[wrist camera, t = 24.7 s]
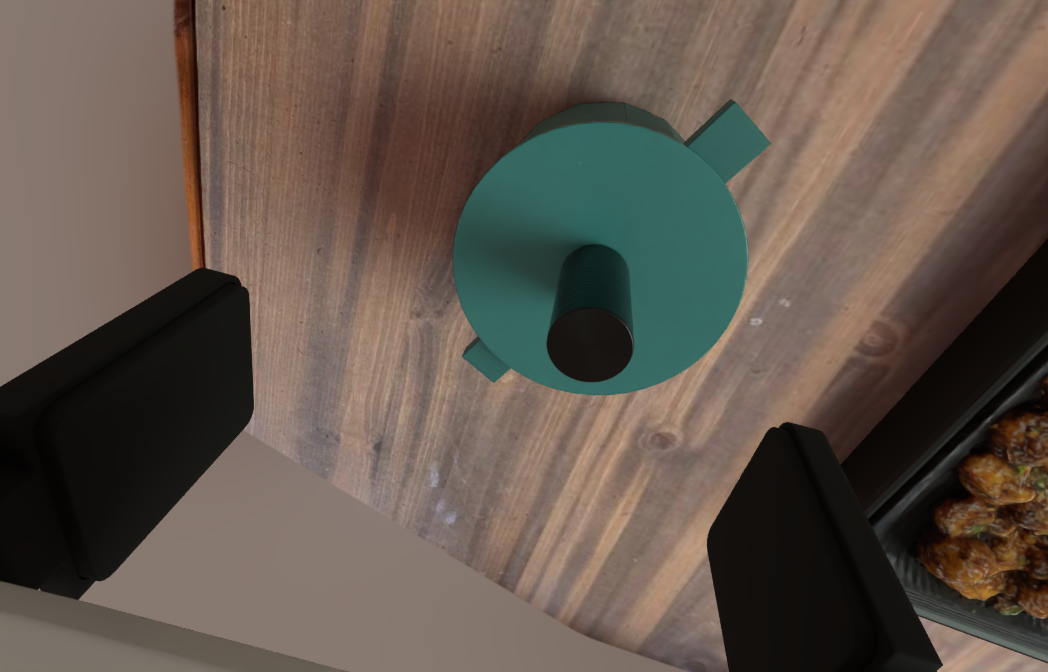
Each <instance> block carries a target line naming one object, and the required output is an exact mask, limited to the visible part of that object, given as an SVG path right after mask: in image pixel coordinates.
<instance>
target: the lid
mask: <svg viewBox="0 0 1048 672" xmlns="http://www.w3.org/2000/svg"><path fill="white" fill-rule="evenodd" d="M747 269H748V244H747V237H746V232H745V227H744V222H743V220H742V217H741V214H740V212H739V209H738V206H737V204H736V202H735V200H734V198H733V196H732V195H731V193H730V191H729V189H728V188H727V186H726V184H725V183H724V182H723V181H722V179H721V178H720V177H719V175H718V174H717V173H716V172H715V170H714V169H713V168H712V167H711V166H710V165H709V164H708V163H707V162H706V161H705V160H704V159H703V158H702V157H701V156H700V155H699V154H697V153H696V152H695V151H693V150H692V149H690V148H689V147H687V146H686V145H685V144H683V143H682V142H680V141H678V140H676V139H674V138H672V137H670V136H668V135H666V134H664V133H662V132H660V131H657V130H654V129H651V128H648V127H645V126H642V125H637V124H632V123H626V122H621V121H603V120H596V121H585V122H576V123H571V124H567V125H563V126H559V127H555V128H552V129H550V130H547V131H544V132H542V133H539V134H537V135H535V136H533V137H531V138H529V139H527V140H526V141H524V142H522V143H520V144H518V145H517V146H516V147H514V148H513V149H511V150H510V151H509V152H507V153H506V154H505V155H503V156H502V157H501V158H500V159H499V160H498V161H497V162H496V163H495V164H494V165H493V166H492V167H491V168H490V169H489V170H488V171H487V172H486V173H485V175H484V176H483V177H482V179H481V180H480V181H479V182H478V184H477V185H476V186H475V188H474V189H473V191H472V193H471V195H470V196H469V198H468V200H467V202H466V204H465V206H464V208H463V211H462V213H461V216H460V219H459V221H458V225H457V229H456V234H455V238H454V247H453V275H454V280H455V286H456V291H457V294H458V297H459V300H460V303H461V306H462V309H463V311H464V313H465V315H466V317H467V319H468V321H469V323H470V324H471V326H472V328H473V329H474V331H475V332H476V334H477V335H478V337H479V338H480V339H481V340H482V342H483V343H484V344H485V345H486V346H487V348H488V349H489V350H490V351H491V352H492V353H494V354H495V355H496V356H497V357H498V358H499V359H500V360H501V361H502V362H504V363H505V364H506V365H508V366H509V367H510V368H512V369H513V370H515V371H516V372H518V373H520V374H521V375H523V376H525V377H527V378H528V379H531V380H533V381H535V382H537V383H540V384H542V385H545V386H548V387H551V388H554V389H557V390H561V391H566V392H570V393H575V394H585V395H614V394H622V393H629V392H633V391H637V390H642V389H645V388H648V387H651V386H654V385H657V384H659V383H662V382H664V381H666V380H668V379H670V378H672V377H674V376H676V375H678V374H679V373H681V372H682V371H684V370H686V369H687V368H689V367H690V366H691V365H693V364H694V363H695V362H696V361H698V360H699V359H700V358H701V357H703V356H704V355H705V354H706V353H707V352H708V351H709V350H710V349H711V348H712V347H713V346H714V345H715V344H716V342H717V341H718V340H719V338H720V337H721V336H722V334H723V333H724V332H725V330H726V329H727V327H728V326H729V324H730V322H731V320H732V318H733V317H734V315H735V313H736V311H737V308H738V306H739V303H740V301H741V298H742V295H743V291H744V287H745V283H746V279H747Z"/></svg>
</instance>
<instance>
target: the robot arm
mask: <svg viewBox="0 0 1048 672" xmlns="http://www.w3.org/2000/svg"><path fill="white" fill-rule="evenodd" d="M253 410H254V395H253V372H252V349H251V326H250V302H249V292H248V290H247V289H246V288H245V287H242V286H241V282H240V280H239V279H238V278H237V277H236V276H233V275H229V274H226V273H222V272H218V271H214V270H210V269H207V268H199V269H197V270H195V271H193V272H191V273H190V274H188V275H187V276H185V277H183V278H181V279H180V280H178V281H176V282H175V283H173V284H171V285H170V286H168V287H166V288H165V289H163V290H161V291H160V292H158V293H156V294H155V295H153V296H151V297H150V298H148V299H147V300H145V301H143V302H141V303H140V304H138V305H136V306H135V307H133V308H131V309H130V310H128V311H126V312H125V313H123V314H121V315H120V316H118V317H116V318H115V319H113V320H111V321H109V322H108V323H106V324H104V325H103V326H101V327H99V328H98V329H96V330H94V331H93V332H91V333H89V334H88V335H86V336H84V337H83V338H81V339H79V340H78V341H76V342H74V343H73V344H71V345H69V346H68V347H66V348H65V349H63V350H61V351H59V352H58V353H56V354H54V355H53V356H51V357H49V358H48V359H46V360H44V361H43V362H41V363H39V364H38V365H36V366H34V367H33V368H31V369H29V370H28V371H26V372H24V373H23V374H21V375H19V376H18V377H16V378H14V379H12V380H11V381H9V382H8V383H6V384H4V385H3V386H1V387H0V672H347V671H344V670H340V669H336V668H332V667H329V666H325V665H321V664H317V663H314V662H310V661H306V660H303V659H299V658H295V657H292V656H288V655H284V654H281V653H277V652H273V651H269V650H265V649H262V648H258V647H254V646H250V645H247V644H243V643H239V642H235V641H231V640H228V639H224V638H220V637H216V636H212V635H209V634H205V633H201V632H197V631H194V630H190V629H186V628H182V627H178V626H175V625H171V624H167V623H163V622H159V621H155V620H152V619H148V618H144V617H141V616H137V615H133V614H129V613H125V612H122V611H118V610H114V609H110V608H107V607H103V606H99V605H95V604H91V603H87V602H84V601H79V598H80V597H81V596H82V595H83V594H84V593H85V592H86V591H87V590H88V589H89V588H90V587H91V585H92V584H93V583H94V582H95V581H103V580H105V579H106V578H108V577H110V576H111V575H112V574H113V573H114V572H115V571H116V570H117V569H118V568H119V566H120V565H121V564H122V563H123V562H124V561H125V560H126V559H127V557H129V555H130V554H131V553H132V552H133V551H134V550H135V549H136V548H137V547H138V546H139V544H140V543H141V542H142V541H143V540H144V539H145V538H146V537H147V535H148V534H149V533H150V532H151V531H152V530H153V529H154V528H155V527H156V525H157V524H158V523H159V522H160V521H161V520H162V519H163V518H164V517H165V516H166V515H167V513H168V512H169V511H170V510H171V509H172V508H173V507H174V506H175V505H176V503H177V502H178V501H179V500H180V499H181V498H182V497H183V496H184V495H185V493H186V492H187V491H188V490H189V489H190V488H191V487H192V486H193V485H194V483H195V482H196V481H197V480H198V479H199V478H200V477H201V476H202V475H203V474H204V472H205V471H206V470H207V469H208V468H209V467H210V466H211V465H212V464H213V462H214V461H215V460H216V459H217V458H218V457H219V456H220V455H221V454H222V452H223V451H224V450H225V449H226V448H227V447H228V446H229V445H230V444H231V442H232V441H233V440H234V439H235V438H236V437H237V436H238V435H239V434H240V432H241V431H242V430H243V429H244V428H245V427H246V426H247V424H248V423H249V421H250V419H251V417H252V414H253ZM707 551H708V557H709V562H710V568H711V573H712V579H713V584H714V590H715V596H716V601H717V607H718V612H719V618H720V623H721V629H722V635H723V640H724V646H725V651H726V657H727V662H728V668H729V672H937V670H938V669H939V668H940V667H942V666H943V664H942V662H941V660H940V658H939V656H938V654H937V653H936V651H935V649H934V647H933V645H932V643H931V641H930V639H929V637H928V635H927V633H926V631H925V629H924V627H923V625H922V623H921V621H920V619H919V617H918V616H917V614H916V612H915V610H914V608H913V606H912V604H911V602H910V600H909V598H908V596H907V594H906V592H905V590H904V588H903V586H902V584H901V582H900V580H899V578H898V577H897V575H896V573H895V571H894V569H893V567H892V565H891V563H890V561H889V559H888V557H887V555H886V553H885V551H884V549H883V547H882V545H881V543H880V541H879V540H878V538H877V536H876V534H875V532H874V530H873V528H872V526H871V524H870V522H869V520H868V518H867V516H866V514H865V512H864V510H863V508H862V506H861V504H860V503H859V501H858V499H857V497H856V495H855V493H854V491H853V489H852V487H851V485H850V483H849V481H848V479H847V477H846V475H845V473H844V471H843V469H842V467H841V466H840V464H839V462H838V460H837V458H836V456H835V454H834V452H833V450H832V448H831V446H830V444H829V442H828V440H827V438H826V436H825V435H824V434H823V432H821V431H819V430H816V429H812V428H809V427H805V426H801V425H797V424H794V423H790V422H786V423H783V424H782V425H780V427H779V428H776V427H772V428H770V429H769V430H768V431H767V433H766V434H765V436H764V438H763V439H762V441H761V443H760V445H759V446H758V448H757V450H756V451H755V453H754V455H753V456H752V458H751V460H750V462H749V463H748V465H747V467H746V468H745V470H744V472H743V473H742V475H741V477H740V479H739V480H738V482H737V484H736V485H735V487H734V489H733V490H732V492H731V494H730V496H729V497H728V499H727V501H726V502H725V504H724V506H723V507H722V509H721V511H720V512H719V514H718V516H717V518H716V519H715V521H714V523H713V524H712V526H711V528H710V530H709V533H708V538H707ZM39 588H40V590H41V591H38V589H39Z"/></svg>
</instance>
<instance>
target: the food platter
mask: <svg viewBox="0 0 1048 672" xmlns="http://www.w3.org/2000/svg"><path fill="white" fill-rule="evenodd" d="M840 466H841V467H842V469H843V471H844V473H845V475H846V477H847V479H848V481H849V483H850V485H851V487H852V489H853V491H854V493H855V495H856V497H857V499H858V501H859V503H860V504H861V506H862V508H863V510H864V512H865V514H866V516H867V518H868V520H869V522H870V524H871V526H872V528H873V530H874V532H875V534H876V536H877V538H878V540H879V541H880V543H881V545H882V547H883V549H884V551H885V553H886V555H887V557H888V559H889V561H890V563H891V565H892V567H893V569H894V571H895V573H896V575H897V577H898V578H899V580H900V582H901V584H902V586H903V588H904V590H905V592H906V594H907V596H908V598H909V600H910V602H911V604H912V606H913V608H914V610H915V612H916V614H917V616H920V617H922V618H925V619H928V620H930V621H933V622H936V623H939V624H941V625H944V626H947V627H950V628H952V629H955V630H958V631H961V632H963V633H966V634H969V635H971V636H974V637H977V638H980V639H982V640H985V641H988V642H991V643H993V644H996V645H999V646H1002V647H1004V648H1007V649H1010V650H1013V651H1015V652H1018V653H1021V654H1023V655H1026V656H1029V657H1032V658H1034V659H1037V660H1040V661H1043V662H1045V663H1048V240H1047V241H1046V242H1045V243H1044V244H1043V245H1042V246H1041V247H1040V248H1039V250H1038V251H1037V252H1036V253H1035V254H1034V255H1033V256H1032V257H1031V258H1030V259H1029V260H1028V262H1027V263H1026V264H1025V265H1024V266H1023V267H1022V268H1021V269H1020V270H1019V271H1018V272H1017V273H1016V275H1015V276H1014V277H1013V278H1012V279H1011V280H1010V281H1009V282H1008V283H1007V284H1006V285H1005V287H1004V288H1003V289H1002V290H1001V291H1000V292H999V293H998V294H997V295H996V296H995V297H994V299H993V300H992V301H991V302H990V303H989V304H988V305H987V306H986V307H985V308H984V309H983V311H982V312H981V313H980V314H979V315H978V316H977V317H976V318H975V319H974V320H973V321H972V323H971V324H970V325H969V326H968V327H967V328H966V329H965V330H964V331H963V332H962V333H961V335H960V336H959V337H958V338H957V339H956V340H955V341H954V342H953V343H952V344H951V345H950V347H949V348H948V349H947V350H946V351H945V352H944V353H943V354H942V355H941V356H940V357H939V359H938V360H937V361H936V362H935V363H934V364H933V365H932V366H931V367H930V368H929V369H928V371H927V372H926V373H925V374H924V375H923V376H922V377H921V378H920V379H919V380H918V381H917V383H916V384H915V385H914V386H913V387H912V388H911V389H910V390H909V391H908V392H907V393H906V394H905V396H904V397H903V398H902V399H901V400H900V401H899V402H898V403H897V404H896V405H895V406H894V408H893V409H892V410H891V411H890V412H889V413H888V414H887V415H886V416H885V417H884V418H883V420H882V421H881V422H880V423H879V424H878V425H877V426H876V427H875V428H874V429H873V430H872V432H871V433H870V434H869V435H868V436H867V437H866V438H865V439H864V440H863V441H862V442H861V444H860V445H859V446H858V447H857V448H856V449H855V450H854V451H853V452H852V453H851V454H850V456H849V457H848V458H847V459H846V460H845V461H844V462H843V463H842V464H841V465H840Z"/></svg>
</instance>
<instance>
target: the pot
mask: <svg viewBox="0 0 1048 672" xmlns="http://www.w3.org/2000/svg"><path fill="white" fill-rule="evenodd" d="M596 120H603V121H621V122H626V123H632V124H637V125H642V126H645V127H648V128H651V129H654V130H657V131H660V132H662V133H664V134H666V135H668V136H670V137H672V138H674V139H676V140H678V141H680V142H682V143H683V144H685V145H686V146H687V147H689V148H690V149H692V150H693V151H695V152H696V153H697V154H699V155H700V156H701V157H702V158H703V159H704V160H705V161H706V162H707V163H708V164H709V165H710V166H711V167H712V168H713V169H714V170H715V172H716V173H717V174H718V175H719V177H720V178H721V179H722V181H723V182H724V183H727V182H728V181H729V180H730V179H731V178H732V177H734V176H735V175H736V174H737V173H738V172H739V171H741V170H742V169H743V168H744V167H745V166H746V165H747V164H749V163H750V162H751V161H752V160H753V159H754V158H756V157H757V156H758V155H759V154H760V153H761V152H763V151H764V150H765V149H766V148H767V147H768V146H770V144H771V143H770V141H769V140H768V139H767V138H766V137H765V136H764V134H763V133H762V132H761V131H760V130H759V129H758V127H757V126H756V125H755V124H754V123H753V122H752V120H751V119H750V118H749V117H748V116H747V115H746V113H745V112H744V111H743V110H742V109H741V108H740V106H739V105H738V104H737V103H736V102H735V101H733V100H729V101H728V102H727V103H726V104H725V105H724V106H723V107H722V108H721V109H720V110H719V111H717V112H716V113H715V114H714V115H713V116H712V117H711V118H710V119H709V120H708V121H707V122H706V123H705V124H704V125H703V126H701V127H700V128H699V129H698V130H697V131H696V132H695V133H694V134H693V135H692V136H691V137H690V138H689V139H688V140H687V141H684V140H683V139H682V137H681V136H680V135H679V134H678V133H677V132H676V131H675V130H674V129H673V128H672V127H671V126H670V124H669V123H668V122H667V121H665V120H664V119H662V118H659V117H657V116H655V115H653V114H651V113H649V112H647V111H645V110H642V109H639V108H636V107H633V106H631V105H628V104H626V103H606V102H600V103H589V104H578V105H576V106H574V107H572V108H569V109H567V110H564V111H562V112H559V113H557V114H555V115H554V116H552V117H550V118H548V119H546V120H544V121H542V122H540V123H539V124H537V125H536V126H535V127H534V129H533V130H532V131H531V132H530V133H529V134H528V135H527V136H526V137H525V138H524V140H523V141H522V142H524V141H526V140H527V139H529V138H531V137H533V136H535V135H537V134H539V133H542V132H544V131H547V130H550V129H552V128H555V127H559V126H563V125H567V124H571V123H576V122H585V121H596ZM522 142H521V143H522ZM462 357H463V358H464V359H465V360H467V361H468V362H469V363H470V364H471V365H473V366H474V367H475V368H476V369H477V370H479V371H480V372H481V373H482V374H484V375H485V376H486V377H487V378H488V379H490V380H491V381H492V382H493V383H494V382H496V381H497V380H498V379H499V378H500V377H501V376H503V375H504V374H505V373H506V372H507V371H508V370H510V369H511V368H510V367H509V366H508V365H506V364H505V363H504V362H502V361H501V360H500V359H499V358H498V357H497V356H496V355H495V354H494V353H492V352H491V351H490V350H489V349H488V348H487V346H486V345H485V344H484V343H483V342H482V340H481V339H480V338H479V337H477V338H476V339H475V340H474V341H472V342H471V343H470V344H469V345H468V346H467V347H466V349H465V351H464V353H463V355H462Z"/></svg>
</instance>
